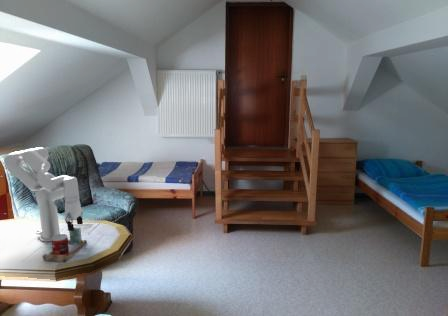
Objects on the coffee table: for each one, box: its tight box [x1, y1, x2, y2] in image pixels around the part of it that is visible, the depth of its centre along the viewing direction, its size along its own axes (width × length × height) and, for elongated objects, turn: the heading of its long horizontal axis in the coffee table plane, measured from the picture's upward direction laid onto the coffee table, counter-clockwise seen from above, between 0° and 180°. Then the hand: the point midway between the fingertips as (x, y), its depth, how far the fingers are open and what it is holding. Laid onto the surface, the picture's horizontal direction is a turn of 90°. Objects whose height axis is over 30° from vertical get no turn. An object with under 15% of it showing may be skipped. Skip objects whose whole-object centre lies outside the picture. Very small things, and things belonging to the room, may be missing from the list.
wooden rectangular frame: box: [42, 227, 88, 263], centre depth 193 cm, size 12×23×9 cm, turn 174°
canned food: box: [50, 233, 70, 255], centre depth 188 cm, size 8×8×11 cm
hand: (75, 227), depth 202 cm, fingers open, 9 cm apart
